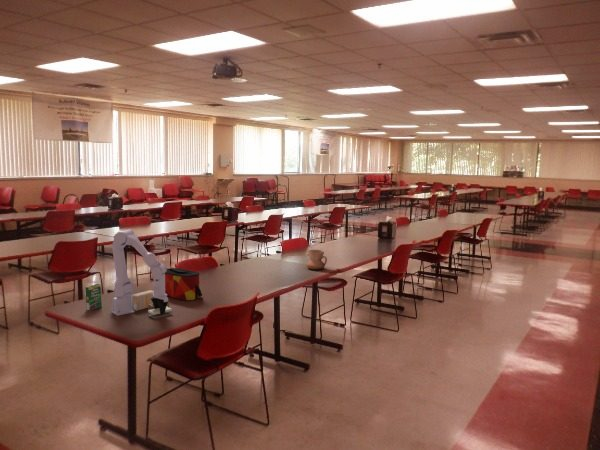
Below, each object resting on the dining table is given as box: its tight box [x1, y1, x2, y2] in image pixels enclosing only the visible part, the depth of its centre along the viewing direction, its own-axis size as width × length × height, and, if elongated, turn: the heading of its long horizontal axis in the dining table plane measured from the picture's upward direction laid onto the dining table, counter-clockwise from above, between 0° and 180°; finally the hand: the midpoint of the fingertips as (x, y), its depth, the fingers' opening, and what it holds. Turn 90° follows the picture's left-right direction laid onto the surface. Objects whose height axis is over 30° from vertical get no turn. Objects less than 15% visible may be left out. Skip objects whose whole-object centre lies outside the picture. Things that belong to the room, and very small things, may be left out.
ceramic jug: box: [305, 249, 328, 271], centre depth 365 cm, size 18×14×14 cm
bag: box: [164, 267, 203, 302], centre depth 284 cm, size 30×14×16 cm, turn 58°
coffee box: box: [84, 283, 103, 312], centre depth 256 cm, size 8×3×13 cm, turn 151°
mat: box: [147, 311, 173, 319], centre depth 249 cm, size 10×7×1 cm
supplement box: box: [131, 289, 154, 311], centre depth 261 cm, size 8×5×13 cm
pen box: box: [147, 301, 170, 311], centre depth 255 cm, size 10×4×4 cm, turn 133°
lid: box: [147, 306, 173, 315], centre depth 248 cm, size 11×5×1 cm, turn 134°
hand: (159, 312), depth 248 cm, fingers closed on lid, 5 cm apart
